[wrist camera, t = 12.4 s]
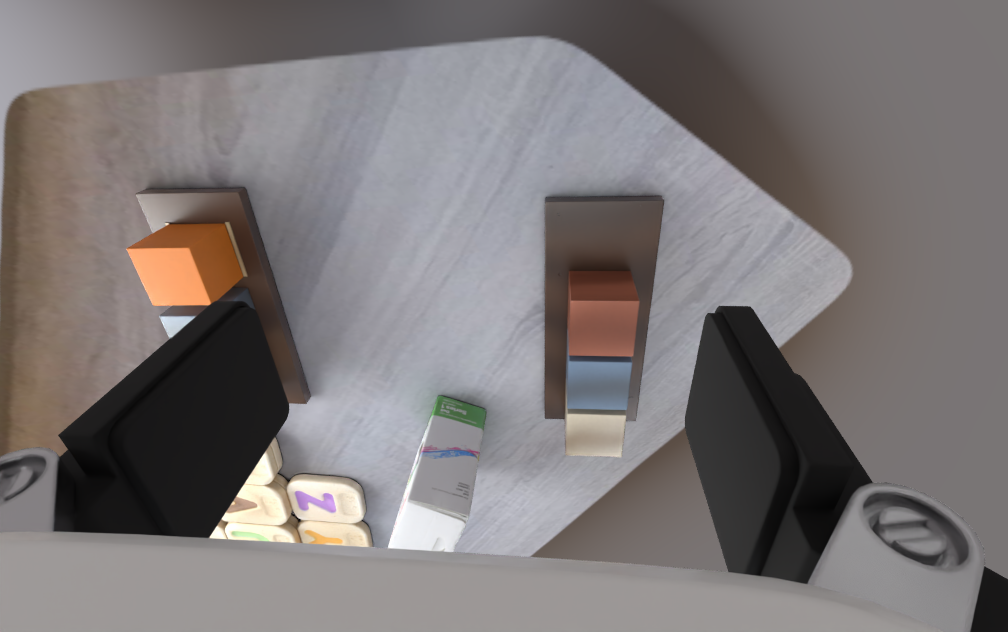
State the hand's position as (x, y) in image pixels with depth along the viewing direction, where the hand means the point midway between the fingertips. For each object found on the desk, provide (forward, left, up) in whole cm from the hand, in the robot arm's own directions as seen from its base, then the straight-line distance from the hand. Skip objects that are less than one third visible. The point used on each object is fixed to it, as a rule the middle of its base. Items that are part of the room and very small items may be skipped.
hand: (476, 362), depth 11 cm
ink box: (+28, -8, -26) cm, 39 cm away
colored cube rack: (+15, +5, -26) cm, 31 cm away
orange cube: (+9, -25, -25) cm, 37 cm away
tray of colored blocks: (+14, -25, -26) cm, 39 cm away
